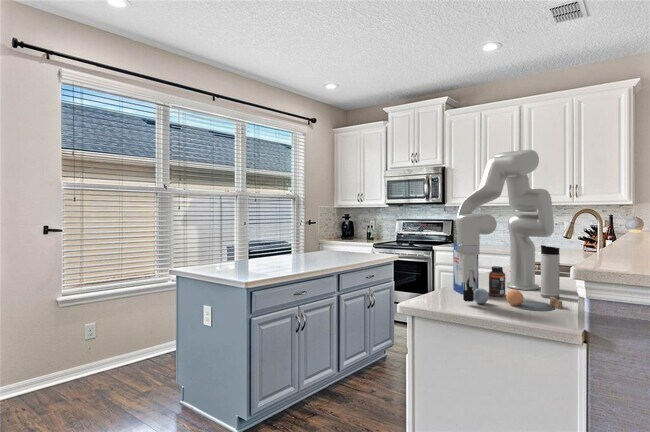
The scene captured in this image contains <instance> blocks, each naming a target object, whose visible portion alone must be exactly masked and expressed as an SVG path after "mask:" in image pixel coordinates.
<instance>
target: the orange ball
mask: <svg viewBox="0 0 650 432" xmlns="http://www.w3.org/2000/svg"><path fill="white" fill-rule="evenodd" d="M505 298H506V301H507V303H508V304H510V306H512V305H515V306H517V305H520V304H521V303H522V302H523V301H524V295H523V293H522V292H521V291H519V289H511V290H509V291H507V293H506V294H505Z"/></svg>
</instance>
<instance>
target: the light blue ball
mask: <svg viewBox="0 0 650 432" xmlns="http://www.w3.org/2000/svg"><path fill="white" fill-rule="evenodd" d="M489 295H490V294H489V292H488V291H487V290H486V289H484V288H480V287H478V289H476V290H474V301H473V302H475V303H477V304H481V305H483V304H486V303H487V302H488V301H489Z"/></svg>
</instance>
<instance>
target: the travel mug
mask: <svg viewBox="0 0 650 432" xmlns="http://www.w3.org/2000/svg"><path fill="white" fill-rule="evenodd" d="M560 261H561V259H560V247H556V246H555V247H554V246H549V245H547V246H546V245H544V244H543V245H542V244H541V245H540V297H542V298H544V299H550V297H554V298H556V299H559V298H560V274H561V273H560V267H561V266H560Z"/></svg>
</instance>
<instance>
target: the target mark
mask: <svg viewBox="0 0 650 432" xmlns="http://www.w3.org/2000/svg"><path fill="white" fill-rule="evenodd" d="M511 306H512V307H514V308H517V309H521V310H524V311H525V310H527V311H533V312H534V311H536V312H548V311H553V310H555V309H556V307H555V306H553V305H551V304H550V303H548V302H543V301H537V300H536V301H535V300H523V302H522V303H521V304H520V305H517V306H515V305H511Z"/></svg>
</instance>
